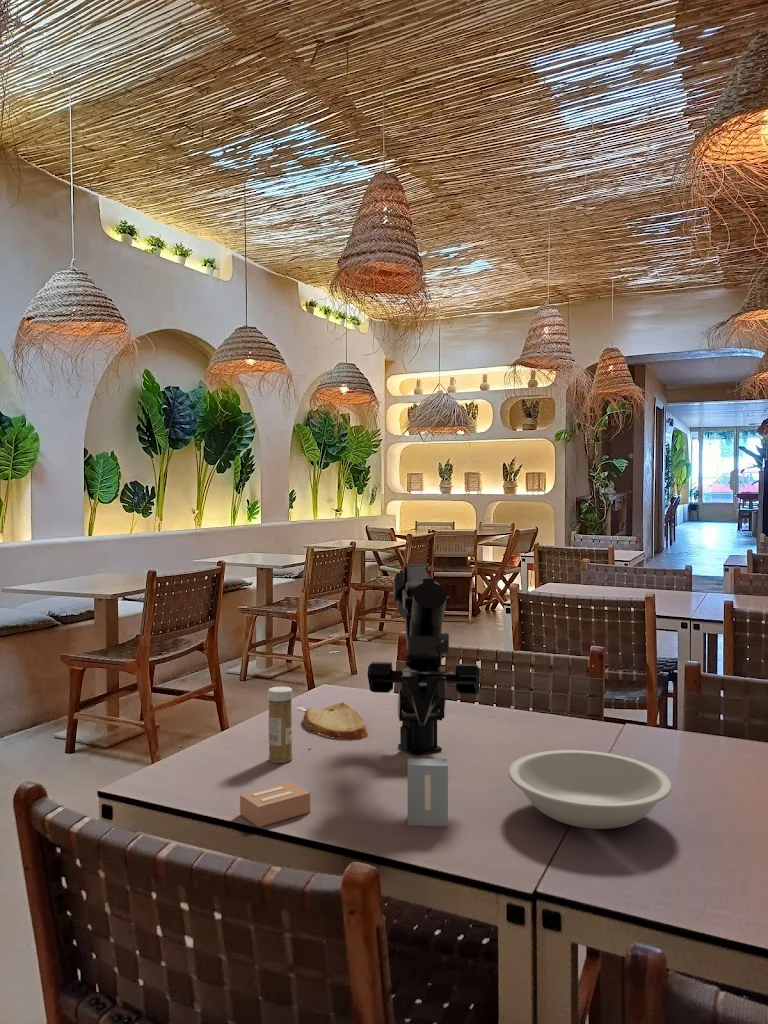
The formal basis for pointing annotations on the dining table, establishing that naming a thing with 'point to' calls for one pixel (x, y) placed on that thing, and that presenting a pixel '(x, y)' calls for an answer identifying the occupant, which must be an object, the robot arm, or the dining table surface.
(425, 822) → the grey-blue block
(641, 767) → the soup bowl
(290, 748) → the sprinkles bottle
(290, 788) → the cardboard box
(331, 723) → the slice of bread
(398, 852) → the dining table surface
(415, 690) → the robot arm
